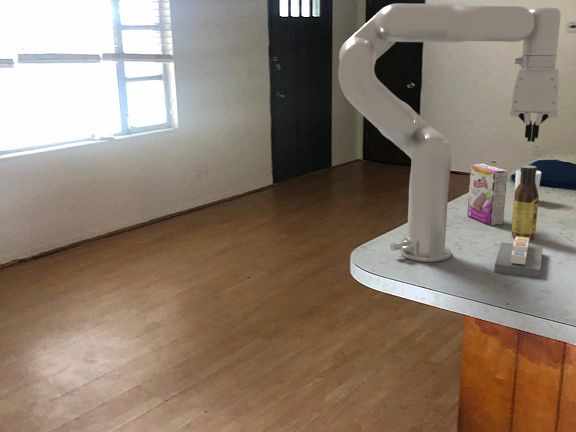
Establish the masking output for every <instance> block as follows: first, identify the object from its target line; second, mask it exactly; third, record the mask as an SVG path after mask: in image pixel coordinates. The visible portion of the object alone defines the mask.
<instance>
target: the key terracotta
mask: <svg viewBox="0 0 576 432" xmlns="http://www.w3.org/2000/svg"><path fill="white" fill-rule="evenodd" d="M527 248H528V243H523V242H515V241H513V251H522V252H527ZM526 255H527V254H526Z"/></svg>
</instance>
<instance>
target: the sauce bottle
mask: <svg viewBox="0 0 576 432" xmlns="http://www.w3.org/2000/svg"><path fill="white" fill-rule="evenodd" d="M520 169H521V170H520ZM520 169H519V170H520V171H521V179H520V182H521V183H520V184H519V185H518V187H517V188H516V190H515V189H514V199H513V209H512V218H511V219H512V220H511V221H512V222H511V231H512V232H511V237H512V238H514V239H515V238H516V236H517V237H527V238H529V240H533V239H534V238H535V235H536V232H537V220H538V218H537V217H538V210H539V209H538V208H539V199H540V198H539V196H540V195H539V190H538V191H537V187H536V184H535V176H536V172H537V171H538V167H537V166H535V165H529V164H527V165H521V166H520Z"/></svg>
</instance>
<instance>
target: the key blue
mask: <svg viewBox="0 0 576 432" xmlns="http://www.w3.org/2000/svg"><path fill="white" fill-rule="evenodd" d="M526 254H527V252H522V251H512V254H511V263H513V264H514V265H522V266H523V264H524V265H525V262H526Z"/></svg>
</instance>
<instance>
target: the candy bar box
mask: <svg viewBox="0 0 576 432" xmlns="http://www.w3.org/2000/svg"><path fill="white" fill-rule="evenodd" d="M507 181H508V170H506V169H503V168H499V167H496V166H492V165H488V164H485V163H477V164H471V165H470V171H469V189H468V200H467V201H468V204H467V206H468V207H467V215H466V216H467V218H468V217H469V218H471V219H474V220H476V221H479V222H480V223H483V224H485V225H487V226H490V227H492V226H499V225H503V224H504V215H505V204H506V203H505V202H506V192H507Z"/></svg>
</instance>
